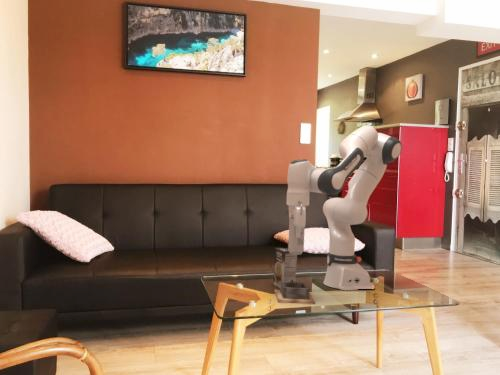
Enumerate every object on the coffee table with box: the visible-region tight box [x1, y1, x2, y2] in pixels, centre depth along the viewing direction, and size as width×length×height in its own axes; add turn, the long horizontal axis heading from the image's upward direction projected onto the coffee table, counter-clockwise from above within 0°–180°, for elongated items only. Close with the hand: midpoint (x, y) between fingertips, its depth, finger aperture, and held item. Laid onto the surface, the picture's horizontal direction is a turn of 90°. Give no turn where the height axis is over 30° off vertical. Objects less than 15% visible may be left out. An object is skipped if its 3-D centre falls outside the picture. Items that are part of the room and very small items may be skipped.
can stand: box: [274, 281, 316, 305], centre depth 170 cm, size 14×14×5 cm
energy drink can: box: [287, 215, 306, 256], centre depth 169 cm, size 6×6×15 cm
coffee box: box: [272, 247, 298, 289], centre depth 185 cm, size 9×6×16 cm
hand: (296, 235), depth 169 cm, fingers closed on energy drink can, 6 cm apart
